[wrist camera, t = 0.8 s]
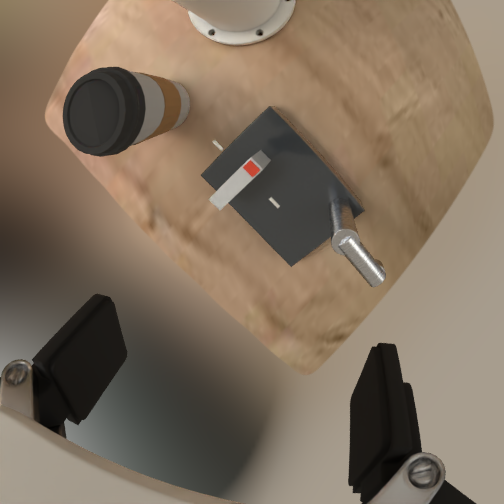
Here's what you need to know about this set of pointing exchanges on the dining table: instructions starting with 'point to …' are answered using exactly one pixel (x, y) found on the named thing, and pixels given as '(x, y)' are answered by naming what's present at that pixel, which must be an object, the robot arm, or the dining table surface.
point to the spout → (352, 243)
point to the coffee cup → (121, 110)
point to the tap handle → (239, 179)
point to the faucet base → (283, 186)
